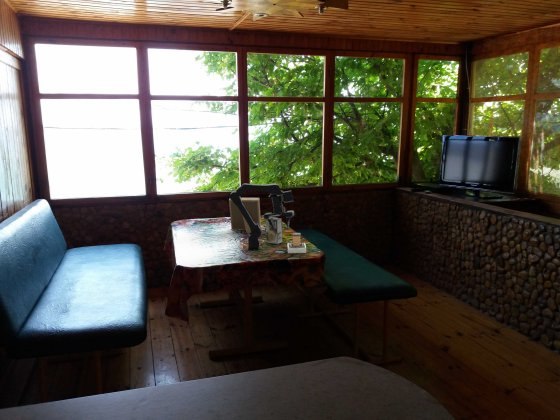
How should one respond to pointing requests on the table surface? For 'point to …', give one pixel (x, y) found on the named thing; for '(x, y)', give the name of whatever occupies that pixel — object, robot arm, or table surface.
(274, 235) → the coffee box
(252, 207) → the photo frame
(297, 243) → the plug
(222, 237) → the table surface
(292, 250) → the socket box
